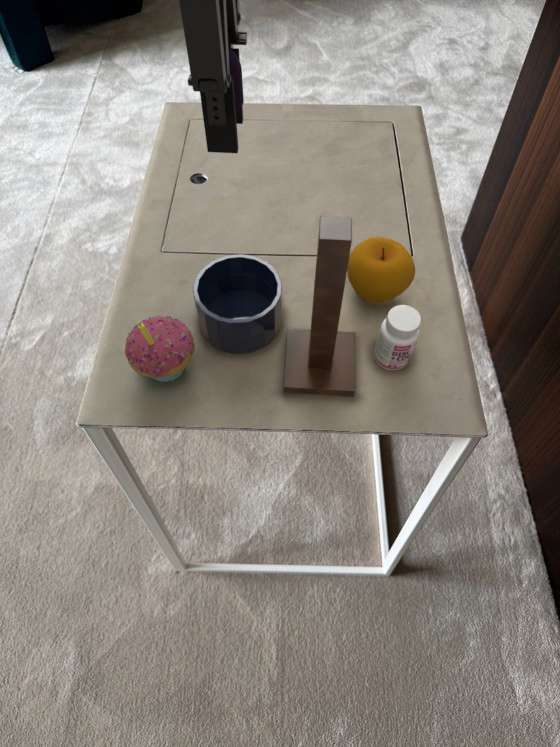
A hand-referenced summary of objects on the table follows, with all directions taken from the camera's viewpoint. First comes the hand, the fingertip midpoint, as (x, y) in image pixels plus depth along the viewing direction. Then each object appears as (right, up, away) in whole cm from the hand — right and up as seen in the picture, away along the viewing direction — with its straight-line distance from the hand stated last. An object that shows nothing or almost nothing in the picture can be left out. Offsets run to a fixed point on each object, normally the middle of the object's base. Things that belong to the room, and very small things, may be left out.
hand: (225, 134), depth 50 cm
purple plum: (0, +2, -3) cm, 3 cm away
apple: (+19, -11, +27) cm, 35 cm away
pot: (0, -15, +25) cm, 29 cm away
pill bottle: (+20, -20, +22) cm, 36 cm away
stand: (+10, -21, +21) cm, 31 cm away
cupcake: (-10, -21, +21) cm, 31 cm away
